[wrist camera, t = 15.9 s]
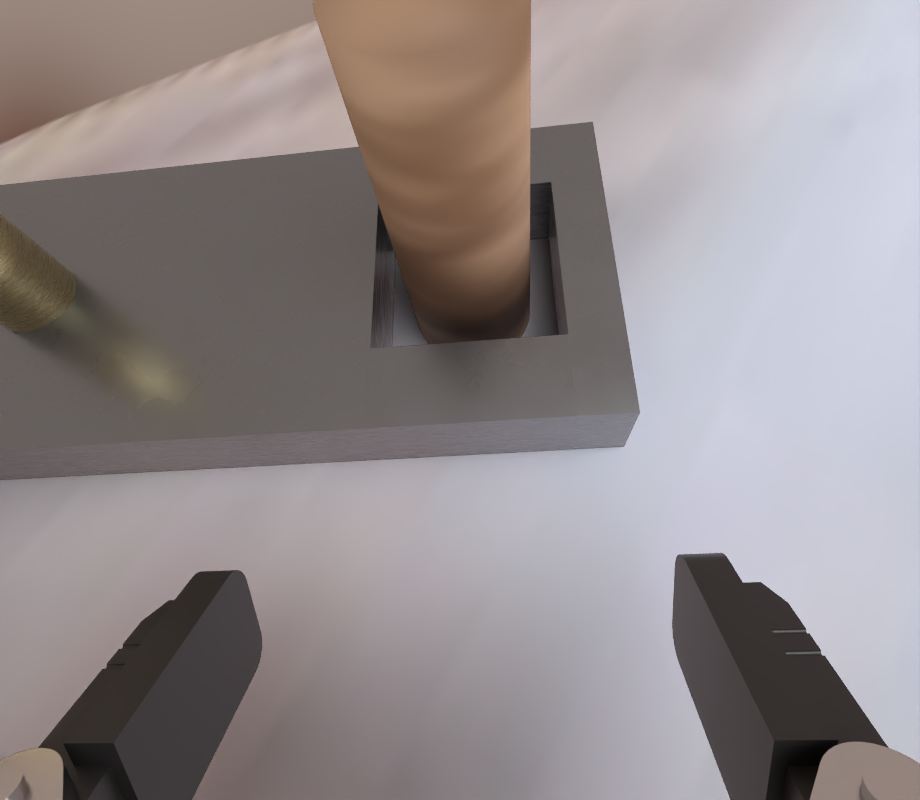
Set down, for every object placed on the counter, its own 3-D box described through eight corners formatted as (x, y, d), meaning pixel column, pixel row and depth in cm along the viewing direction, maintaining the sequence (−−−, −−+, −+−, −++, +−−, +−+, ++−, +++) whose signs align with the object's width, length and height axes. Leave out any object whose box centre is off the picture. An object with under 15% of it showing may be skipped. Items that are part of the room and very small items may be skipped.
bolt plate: (-67, 483, 22) (-779, 281, 10) (26, 235, 27) (-374, -96, 15) (624, 446, 19) (775, 119, 7) (585, 181, 24) (639, -268, 12)
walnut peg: (417, 364, 21) (302, 68, 11) (418, 270, 23) (322, -67, 12) (533, 356, 21) (539, 39, 10) (525, 261, 23) (523, -96, 12)
